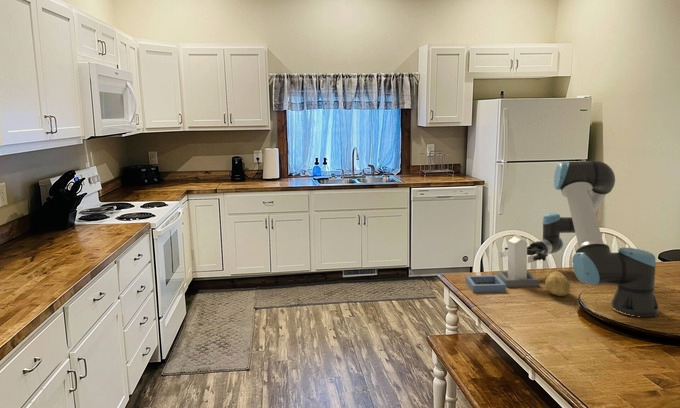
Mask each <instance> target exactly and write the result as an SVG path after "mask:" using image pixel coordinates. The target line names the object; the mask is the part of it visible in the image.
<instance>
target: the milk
mask: <svg viewBox="0 0 680 408" xmlns="http://www.w3.org/2000/svg"><path fill="white" fill-rule="evenodd" d="M507 243H508V244H507V248H508V256H507V271H508V279H527V271H528V270H527V269H528V268H527V267H528V255H527V247H528V242H527V241H525V240H523V239H522V235H520V234H517V233H514V235H513V237H512V238H510V239H509V240H507Z"/></svg>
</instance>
